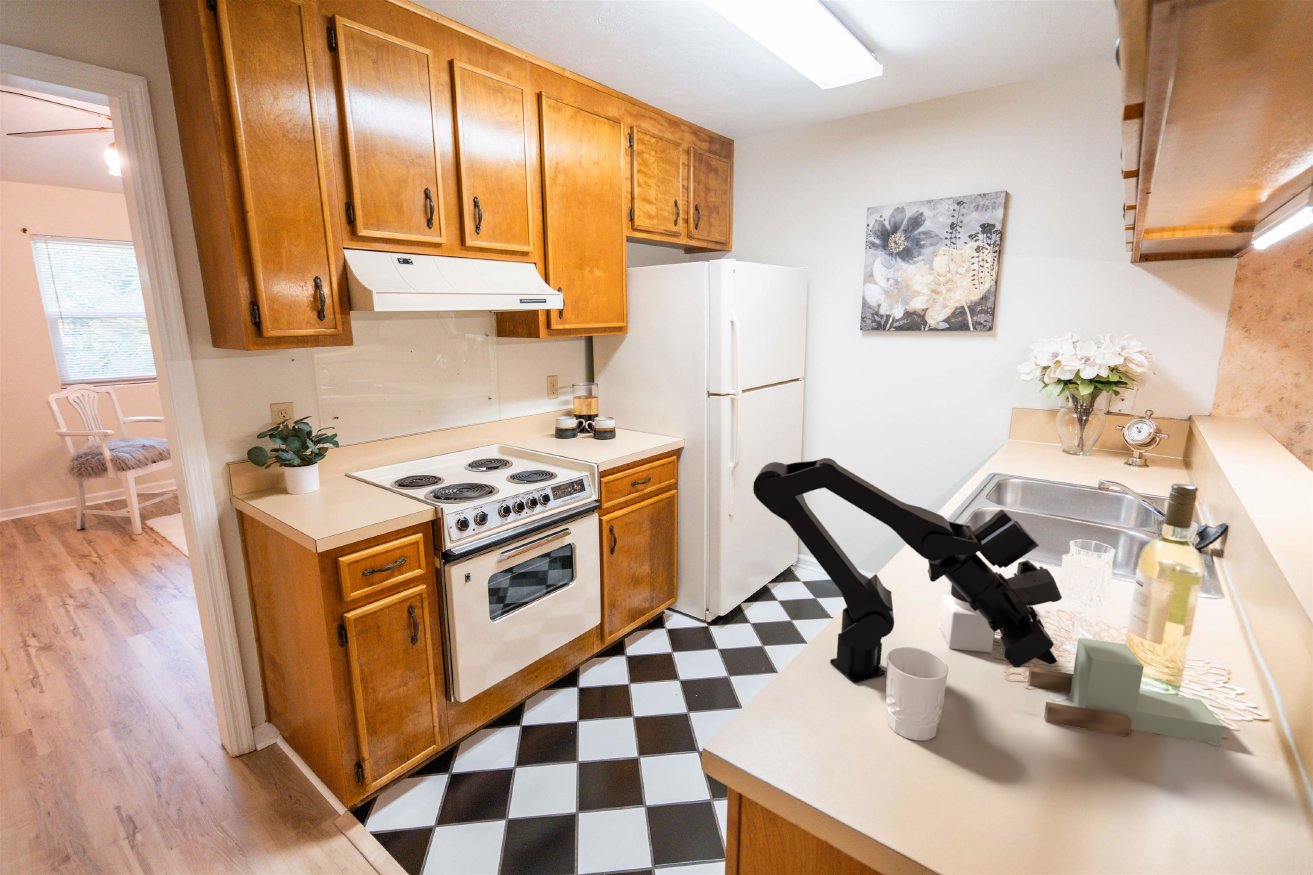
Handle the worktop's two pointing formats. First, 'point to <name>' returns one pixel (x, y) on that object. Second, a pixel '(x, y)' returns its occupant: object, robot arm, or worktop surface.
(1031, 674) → the walnut slot
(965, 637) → the medicine bottle
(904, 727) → the white cup
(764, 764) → the worktop surface
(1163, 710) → the key block
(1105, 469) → the worktop surface
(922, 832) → the worktop surface
